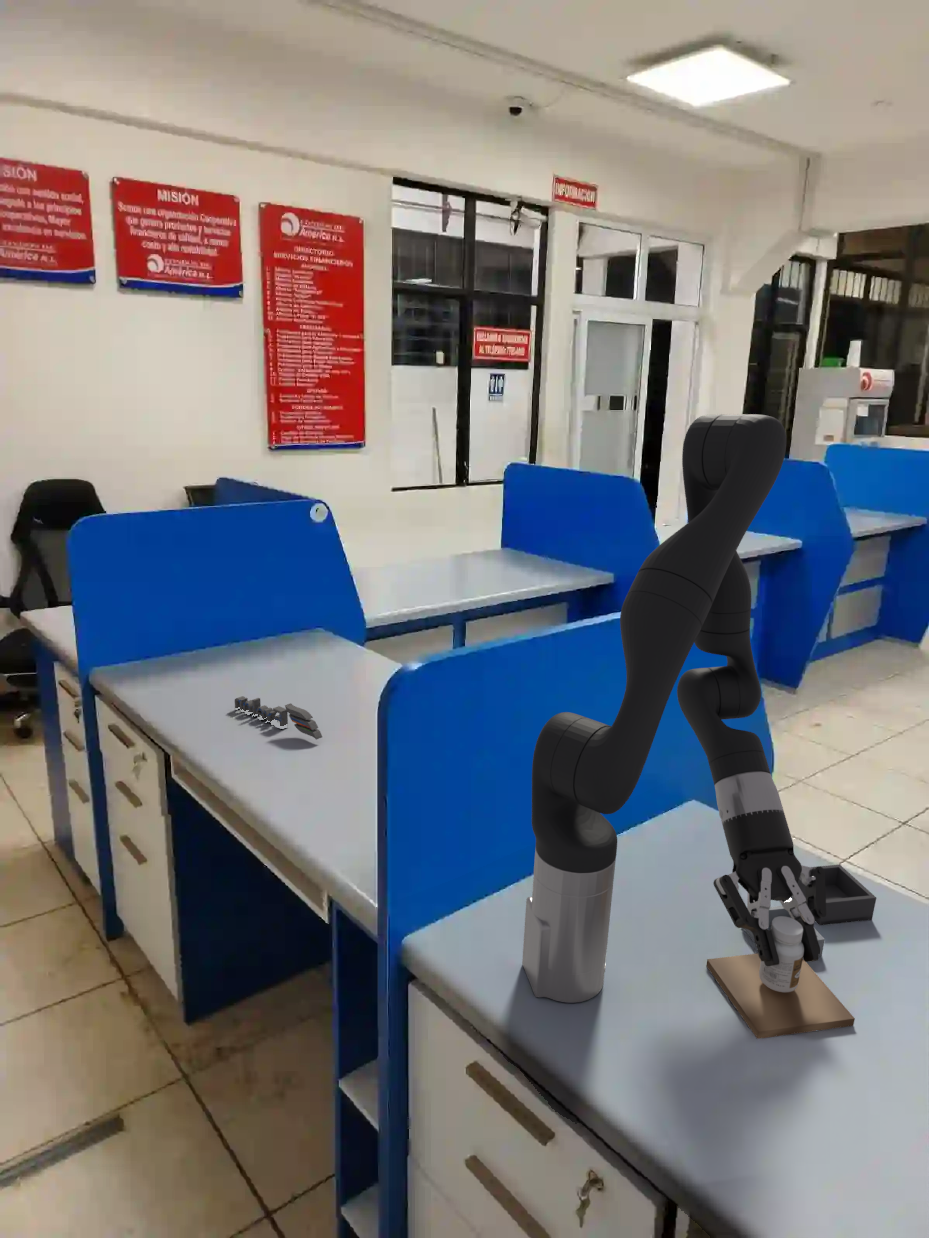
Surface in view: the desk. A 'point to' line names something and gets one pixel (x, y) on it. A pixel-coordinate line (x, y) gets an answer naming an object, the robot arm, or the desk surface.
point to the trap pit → (844, 897)
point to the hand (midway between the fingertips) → (792, 962)
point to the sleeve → (781, 911)
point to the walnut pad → (778, 999)
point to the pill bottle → (784, 956)
